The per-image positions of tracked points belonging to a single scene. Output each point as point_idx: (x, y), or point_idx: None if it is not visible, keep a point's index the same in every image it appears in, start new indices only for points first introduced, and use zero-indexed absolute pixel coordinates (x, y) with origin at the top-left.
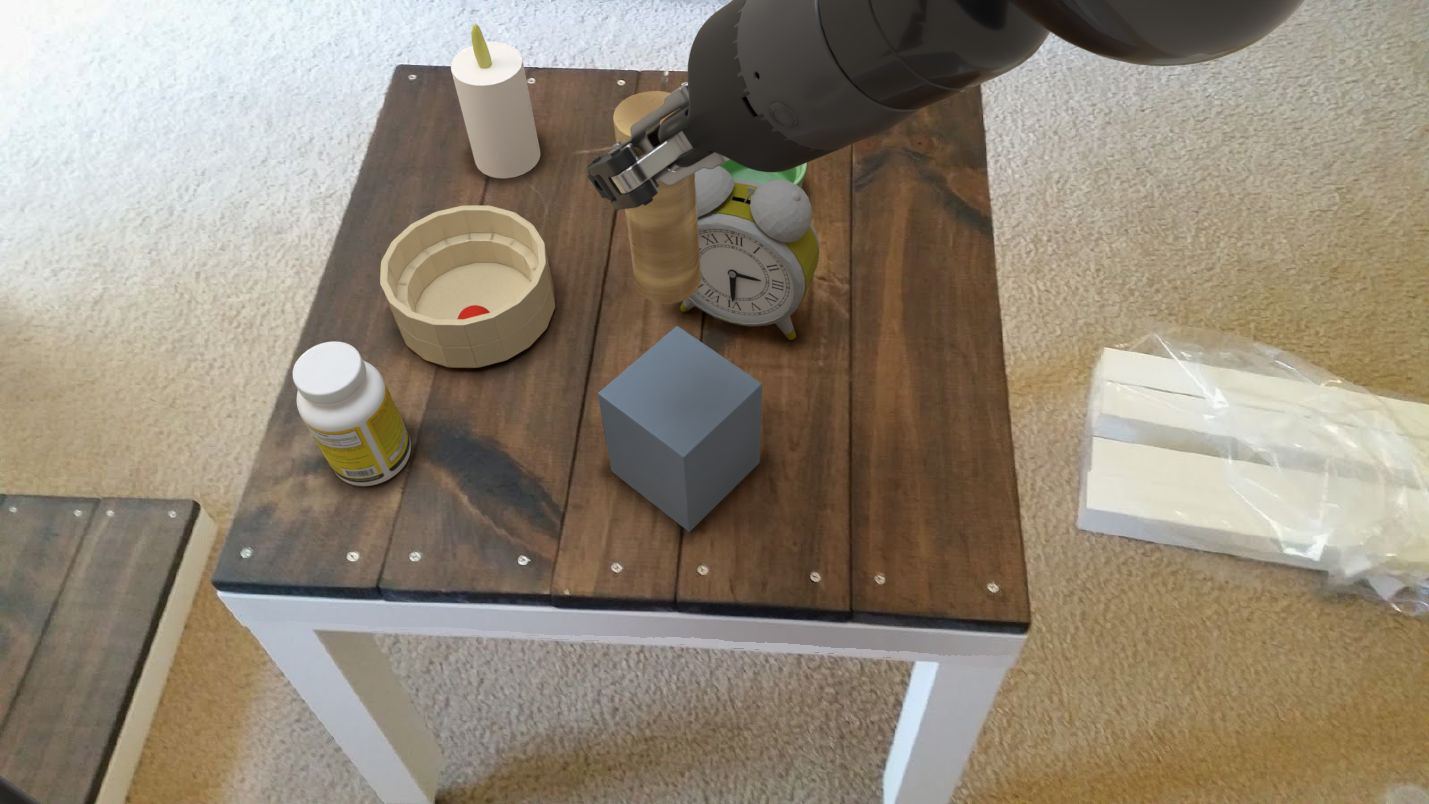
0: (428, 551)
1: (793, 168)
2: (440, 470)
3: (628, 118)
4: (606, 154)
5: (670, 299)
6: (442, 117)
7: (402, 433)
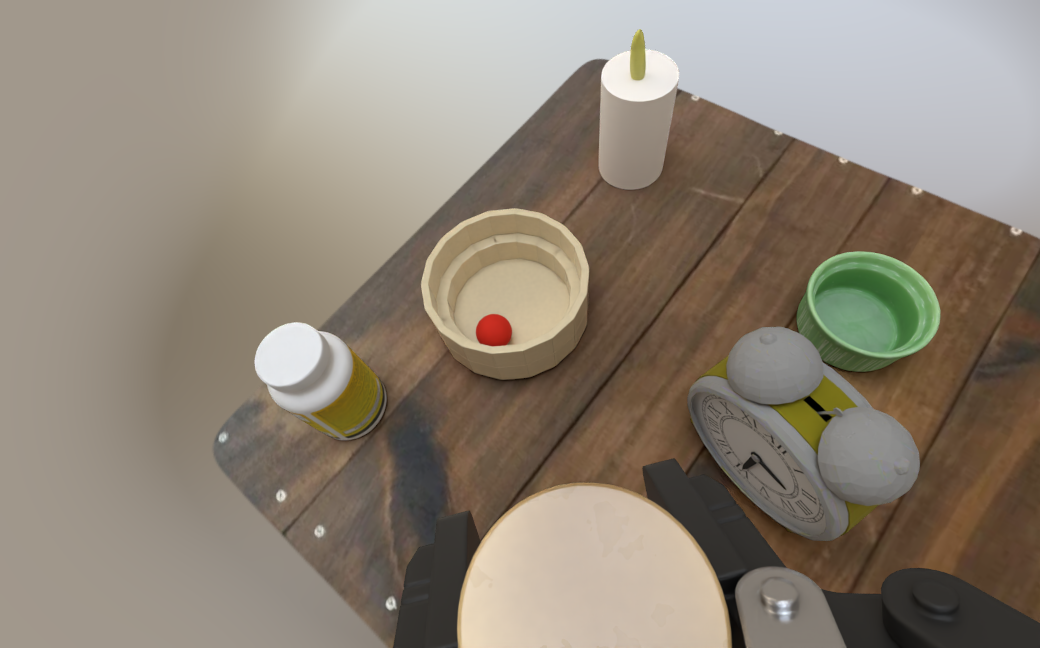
0: (331, 533)
1: (913, 323)
2: (388, 456)
3: (512, 586)
4: (434, 595)
5: None
6: (600, 103)
7: (366, 415)
